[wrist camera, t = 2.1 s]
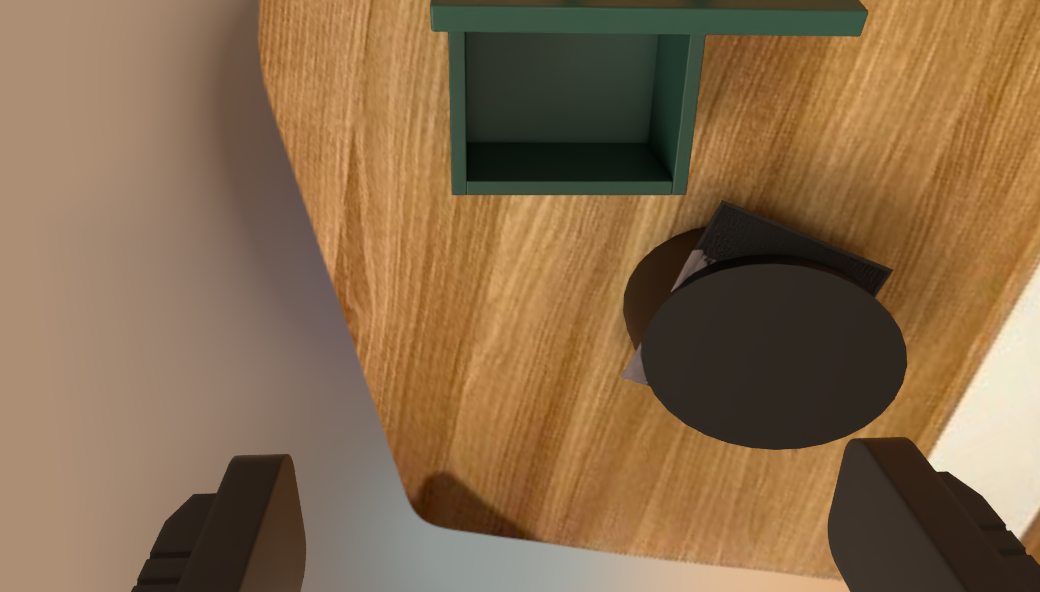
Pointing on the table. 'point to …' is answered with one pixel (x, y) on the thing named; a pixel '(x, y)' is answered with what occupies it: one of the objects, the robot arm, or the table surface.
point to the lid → (652, 16)
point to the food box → (572, 112)
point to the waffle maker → (763, 333)
